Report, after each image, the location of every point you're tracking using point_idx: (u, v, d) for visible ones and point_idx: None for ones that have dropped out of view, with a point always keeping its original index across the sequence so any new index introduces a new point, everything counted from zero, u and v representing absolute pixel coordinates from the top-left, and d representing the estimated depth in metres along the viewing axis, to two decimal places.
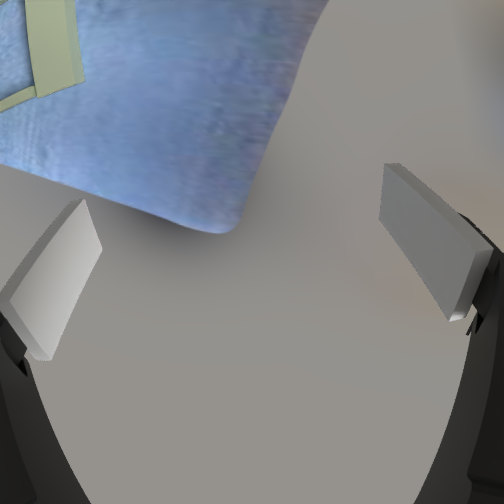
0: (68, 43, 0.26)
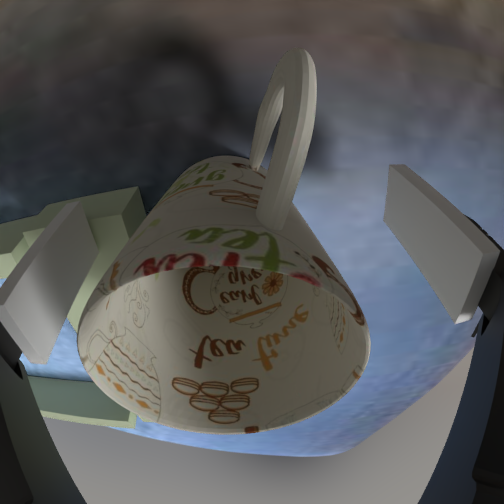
0: None
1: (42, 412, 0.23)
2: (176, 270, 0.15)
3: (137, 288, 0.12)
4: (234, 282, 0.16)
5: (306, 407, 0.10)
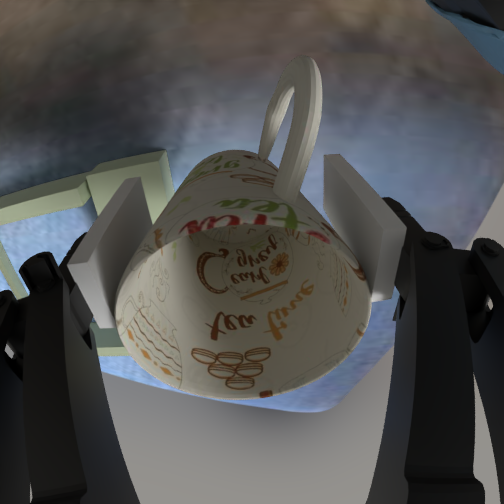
0: None
1: None
2: (190, 253, 0.17)
3: (159, 265, 0.13)
4: (243, 265, 0.18)
5: (316, 369, 0.12)
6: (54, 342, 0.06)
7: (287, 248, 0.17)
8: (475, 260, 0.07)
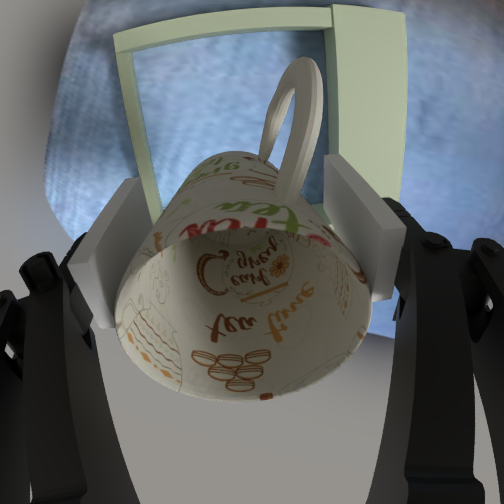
0: (400, 176, 0.25)
1: None
2: (190, 255, 0.17)
3: (159, 268, 0.13)
4: (243, 266, 0.18)
5: (316, 372, 0.12)
6: (55, 342, 0.06)
7: (287, 250, 0.17)
8: (475, 260, 0.07)
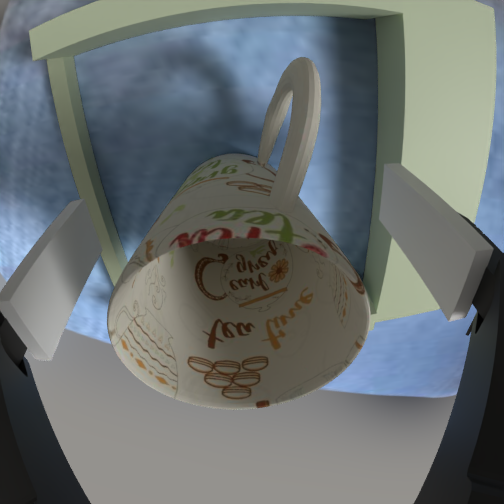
0: None
1: None
2: (188, 259, 0.16)
3: (156, 273, 0.13)
4: (242, 271, 0.17)
5: (313, 381, 0.11)
6: None
7: (287, 254, 0.16)
8: None
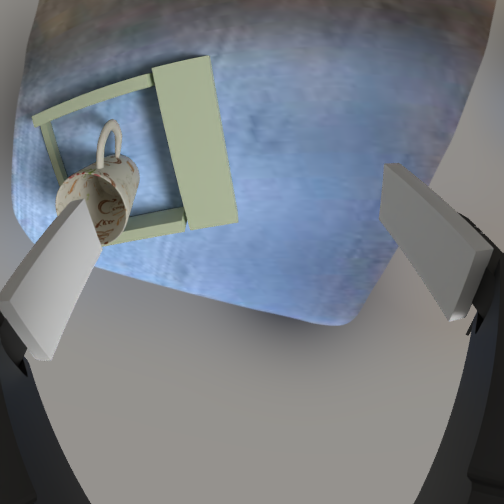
0: (229, 179, 0.36)
1: None
2: (96, 199, 0.36)
3: (78, 199, 0.32)
4: (119, 204, 0.37)
5: (120, 230, 0.31)
6: None
7: None
8: None
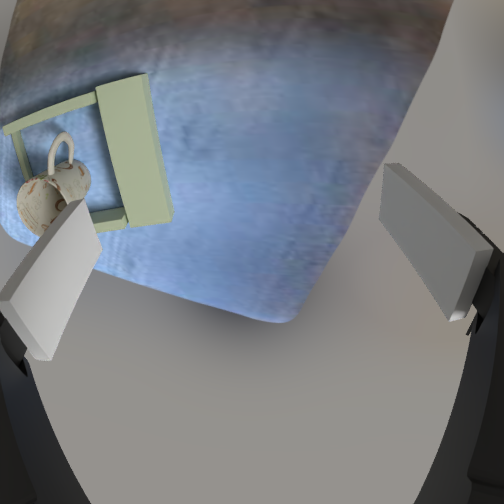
0: (161, 184, 0.39)
1: None
2: (54, 198, 0.39)
3: (37, 198, 0.35)
4: None
5: None
6: None
7: None
8: None
